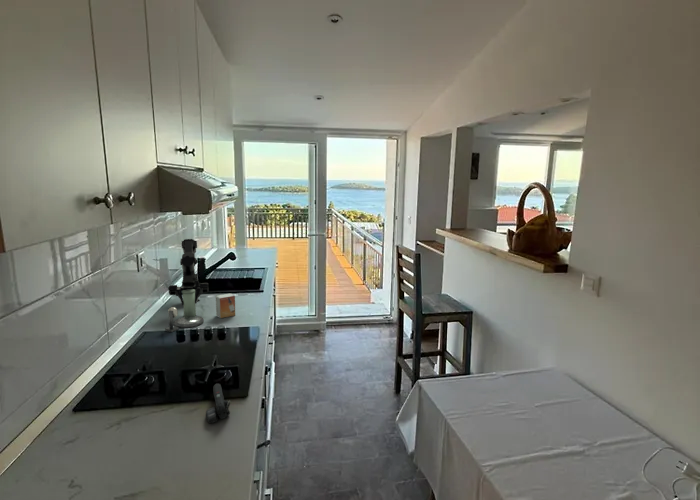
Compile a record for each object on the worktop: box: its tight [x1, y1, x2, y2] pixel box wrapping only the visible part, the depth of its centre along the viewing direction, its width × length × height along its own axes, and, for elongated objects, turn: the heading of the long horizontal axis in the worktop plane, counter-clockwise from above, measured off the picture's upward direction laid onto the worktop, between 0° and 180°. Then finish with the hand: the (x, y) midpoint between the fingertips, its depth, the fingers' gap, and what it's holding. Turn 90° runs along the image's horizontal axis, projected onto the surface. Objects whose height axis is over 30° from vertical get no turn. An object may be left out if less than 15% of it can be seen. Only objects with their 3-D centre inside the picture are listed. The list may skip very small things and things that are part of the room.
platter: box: [174, 315, 205, 329], centre depth 182 cm, size 13×13×1 cm
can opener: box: [205, 383, 232, 424], centre depth 115 cm, size 18×7×6 cm, turn 19°
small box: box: [215, 292, 236, 319], centre depth 192 cm, size 8×6×10 cm
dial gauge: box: [164, 306, 180, 333], centre depth 172 cm, size 4×5×10 cm
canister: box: [181, 289, 197, 317], centre depth 191 cm, size 6×6×13 cm
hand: (189, 303), depth 189 cm, fingers closed on canister, 6 cm apart
